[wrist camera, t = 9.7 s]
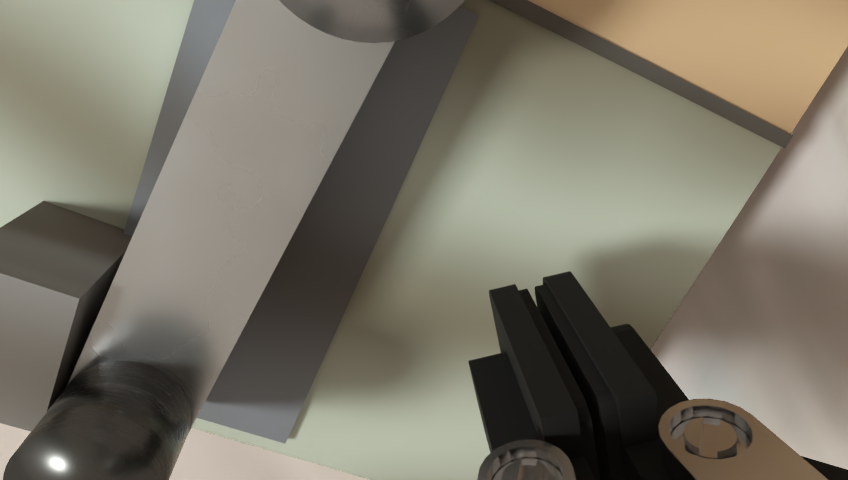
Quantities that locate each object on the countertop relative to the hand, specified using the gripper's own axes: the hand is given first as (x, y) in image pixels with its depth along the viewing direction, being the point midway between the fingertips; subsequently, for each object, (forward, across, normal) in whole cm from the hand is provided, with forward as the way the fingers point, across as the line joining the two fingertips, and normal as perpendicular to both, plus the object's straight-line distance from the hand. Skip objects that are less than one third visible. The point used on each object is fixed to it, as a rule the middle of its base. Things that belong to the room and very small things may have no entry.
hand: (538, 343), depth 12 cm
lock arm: (+2, +5, -5) cm, 7 cm away
